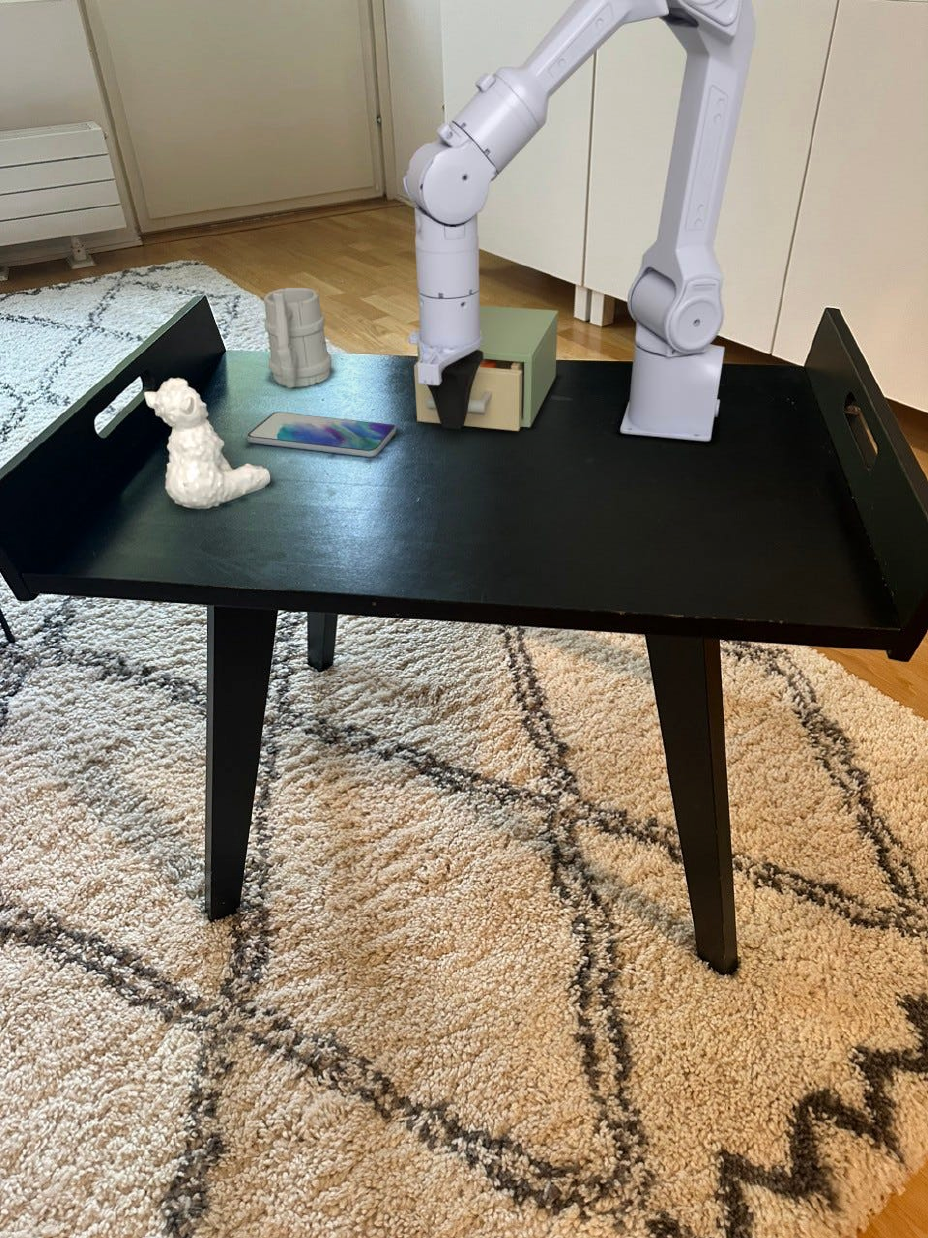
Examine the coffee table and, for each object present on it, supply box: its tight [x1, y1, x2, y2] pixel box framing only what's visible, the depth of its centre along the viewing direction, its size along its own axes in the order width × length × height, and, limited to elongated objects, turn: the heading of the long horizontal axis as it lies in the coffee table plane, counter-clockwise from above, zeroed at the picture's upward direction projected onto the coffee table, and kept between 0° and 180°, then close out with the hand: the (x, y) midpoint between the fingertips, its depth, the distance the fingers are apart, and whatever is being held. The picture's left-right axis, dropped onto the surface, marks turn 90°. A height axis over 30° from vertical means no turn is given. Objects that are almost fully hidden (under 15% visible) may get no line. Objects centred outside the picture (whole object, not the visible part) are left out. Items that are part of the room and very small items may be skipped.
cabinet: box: [416, 304, 559, 428], centre depth 102 cm, size 15×13×8 cm
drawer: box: [413, 360, 524, 432], centre depth 98 cm, size 18×11×6 cm, turn 164°
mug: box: [263, 287, 333, 388], centre depth 106 cm, size 8×12×12 cm, turn 178°
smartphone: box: [246, 411, 397, 458], centre depth 97 cm, size 7×1×15 cm
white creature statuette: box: [143, 377, 271, 510], centre depth 84 cm, size 10×9×12 cm
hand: (453, 425), depth 91 cm, fingers closed
